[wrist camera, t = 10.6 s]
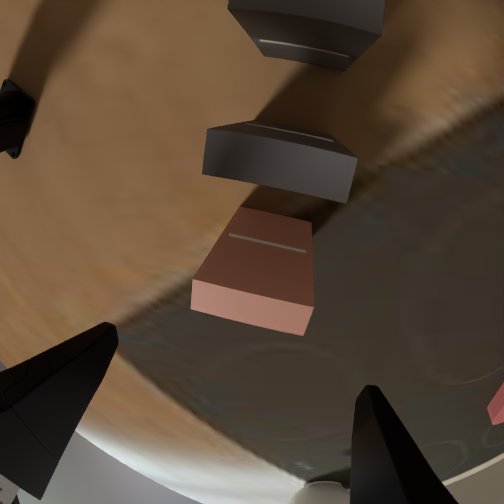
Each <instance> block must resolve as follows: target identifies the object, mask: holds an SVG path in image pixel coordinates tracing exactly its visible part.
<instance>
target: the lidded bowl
mask: <svg viewBox="0 0 504 504" xmlns="http://www.w3.org/2000/svg"><path fill="white" fill-rule="evenodd" d="M289 504H350V493H349V492H348V491H347V490H346V489H345V488H344V487H342V486H341V483H339V482H334V481H316V482H311V483H307V484H305V485H304V487H303V488H302V489H300V490H299V491H298V492H297V493H296V494H295V495H294V496H293V498H292V499H291V501H290V503H289Z"/></svg>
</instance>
